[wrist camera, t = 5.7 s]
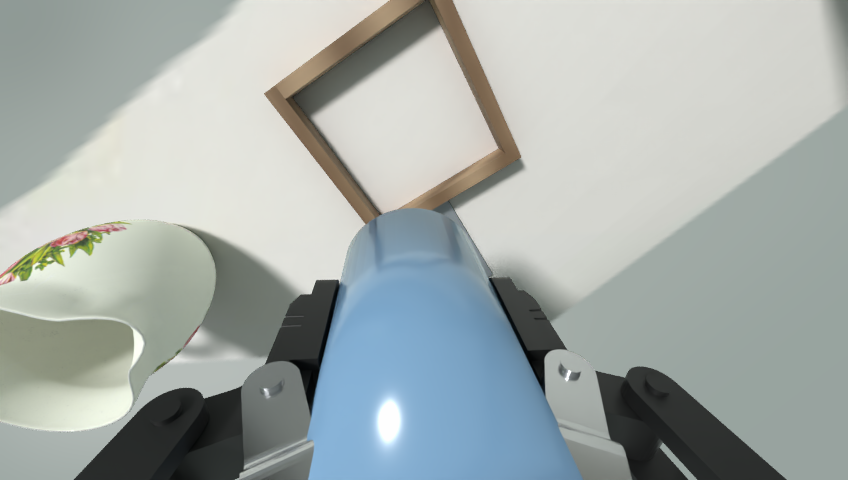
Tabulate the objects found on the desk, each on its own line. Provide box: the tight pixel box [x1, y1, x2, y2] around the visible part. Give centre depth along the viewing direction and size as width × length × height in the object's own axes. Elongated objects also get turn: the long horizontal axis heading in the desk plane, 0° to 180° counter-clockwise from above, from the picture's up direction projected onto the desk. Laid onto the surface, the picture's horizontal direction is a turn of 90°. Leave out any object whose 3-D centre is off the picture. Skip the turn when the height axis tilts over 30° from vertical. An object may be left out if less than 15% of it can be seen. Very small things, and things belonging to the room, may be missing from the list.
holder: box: [264, 0, 521, 224], centre depth 25 cm, size 14×14×2 cm
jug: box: [307, 208, 583, 480], centre depth 10 cm, size 8×6×9 cm
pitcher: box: [0, 220, 216, 432], centre depth 23 cm, size 11×18×14 cm, turn 116°
